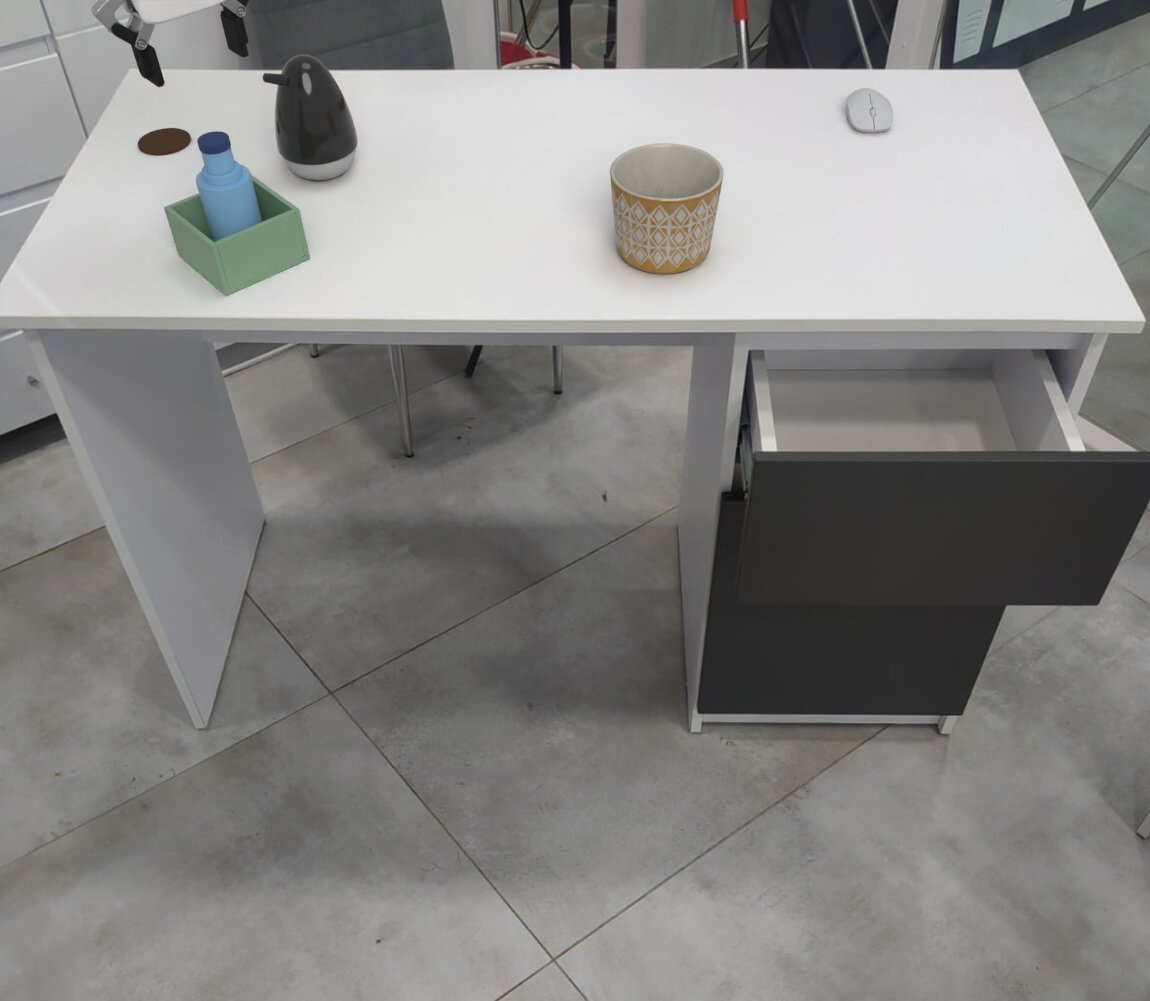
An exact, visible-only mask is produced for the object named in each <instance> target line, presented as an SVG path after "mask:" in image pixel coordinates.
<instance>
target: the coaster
mask: <svg viewBox="0 0 1150 1001" xmlns="http://www.w3.org/2000/svg"><path fill="white" fill-rule="evenodd" d="M191 142H192V137H191V134H190V132H188V131H187V130H185V129H182V128H177V127H165V128H159V129H155V130H152V131H150V132H147V133H145V134H143V135H142V136H141V137H140V138H139V139H138V141H137V147H138V149H139V151H140V152H142V153H143V154H146V155H151V156H165V155H171V154H174V153H178V152H180V151H182V150H184V149H186V147H188V146H189V145H190V144H191Z"/></svg>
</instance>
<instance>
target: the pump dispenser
mask: <svg viewBox="0 0 1150 1001" xmlns="http://www.w3.org/2000/svg"><path fill="white" fill-rule="evenodd" d="M262 81H263V83H266V84H271V85H275V86H277V89H276V94H275V104H274V130H275V140H276V146H277V150H278V153H279V155H280V157H281V158H282V159H283V160H284V163H286V165H287V166H288V168H289V169H290V170H291V171H292V172H293V173H294V174H296V175H298V176H299V177H301V178H303V179H306V180H311V181H327V180H328V181H329V180H331V179H334V178H337V177H339V176H341V175H342V174H344V173H345V172H346V171H348V170H349V168H350V167H351V165H352V164H353V162H354V159H355V156H356V152H357V151H356V150H357V147H358V143H359V140H358V133H357V129H356V125H355V122H354V119H353V116H352V113H351V110H350V108H349V105H348V103H347V101H346V98H345V96H344V94H343V92H342V90H341V88H340V86H339V85H338V83H337V81H336V79H335V78H334V76H333V75H332V73H331V72H330V70H329V69H328V68H327V67H326V66H325V64H324V63H323V62H322V61H321V60H320V59H318V58H317V57H315V56H313V55H310V54H297V55H295V56H292V57H291V58H289V59H288V60H287V61H286V62H285V64H284V65H283V68H282V70H281V72H280V73H271V72H269V73H268V72H265V73H263V74H262Z"/></svg>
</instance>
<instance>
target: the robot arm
mask: <svg viewBox="0 0 1150 1001" xmlns="http://www.w3.org/2000/svg"><path fill="white" fill-rule="evenodd" d="M249 1H250V0H97V1H96V2H95V3H94V4H93V6H92V7H91V9H90V10H91V14H92V15H93V16H94V17H95V18H96V19H97V20H98V22H100V23H101V24H102V26H103V27H104V28H106V30H107V31H108V32H109V33H111V35H114V36H115V37H116V38H118V39H119V40H121V41H123V42H125V43H127V44H128V45H130V47H131V50H132V53H133V56H134V60H135V63H136V66H137V69H138V72H139V73H140V76H141V77H142V78H143V79H145V80H147V81H148V82H150V83H151V84H152V85H154V86H156V87H157V88H161V87H164V85H165V84H166V82H165V78H164V75H163V71H162V68H161V64H160V60H159V58H158V55H157V51H156V48H155V47H153V46H152V45H150V43H149V42H150V40H151V37H152V35H153V32H154V30H155V27H156V25H161V24H164V23H168V22H171V21H174V20H177V19H180V18H183V17H187V16H189V15H193V14H196V13H199V12H202V11H205V10H208V9H211V8H215V7H216V6H221V7H222V10H220V14H219V17H220V21H221V26H222V29H223V33H224V37H225V42H226V45H227V48H228V50H229V51H231V52H232V53H234V54H235V55H238V56H239V57H241V58H243V59H244V58H246V57H249V55H250V54H249V49H248V44H249V37H248V33H247V29H246V25H245V21H244V17H245V16H246V15H247V5H248V3H249ZM121 6H122V8H123V9H124V11H125V12H127V13H128V14H130V15H129V16H128V20H127V22H126V25H124V24H122V23H121V22H120V21H119V20H118V18H116V16H115V13H116V11H117V10H118V9H119V8H120V7H121Z"/></svg>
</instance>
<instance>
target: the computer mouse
mask: <svg viewBox="0 0 1150 1001" xmlns="http://www.w3.org/2000/svg"><path fill="white" fill-rule="evenodd" d="M845 104H846V115H847V121H848V123H849V124H850V126H851V127H852V128H853V129H854V130H856V131H858V132H861V133H867V134H868V133H869V134H875V133H876V134H877V133H883V132H886V131H888V130H890V129H891V128H892V126H893V122H894V110H893V106H892V103H891V102H890V100H889V99H888V98H887V97H886V96H885V95H883V94H882V93H881V92H879V91H877V90H876V89H873V88H869V87H863V88H862V87H861V88H859V89H856V90H854V91H852V92H851V93H850V94H849V95H848V96H847V97H846V101H845Z"/></svg>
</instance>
